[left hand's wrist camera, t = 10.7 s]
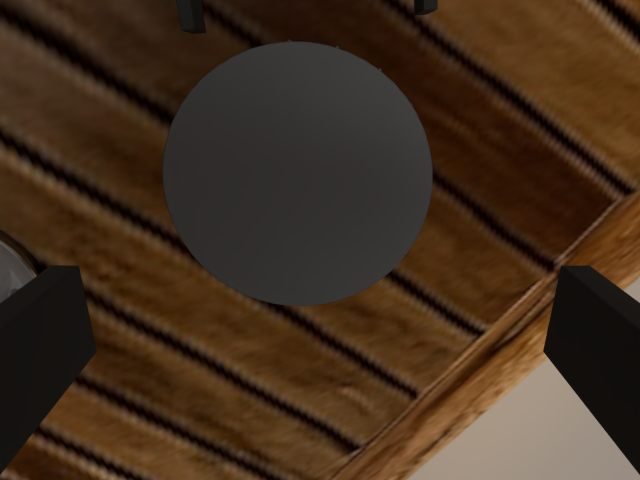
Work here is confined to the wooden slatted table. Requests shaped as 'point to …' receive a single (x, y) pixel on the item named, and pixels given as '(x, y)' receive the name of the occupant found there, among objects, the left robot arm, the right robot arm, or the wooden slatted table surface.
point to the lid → (297, 173)
